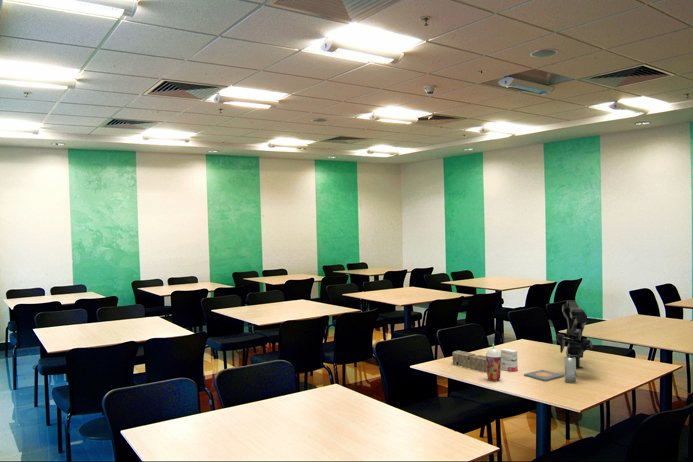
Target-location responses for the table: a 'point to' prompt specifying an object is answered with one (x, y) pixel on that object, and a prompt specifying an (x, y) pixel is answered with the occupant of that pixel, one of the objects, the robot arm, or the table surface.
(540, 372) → the rubber mat
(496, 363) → the smoothie
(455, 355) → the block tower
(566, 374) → the steel sleeve
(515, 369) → the ink box
